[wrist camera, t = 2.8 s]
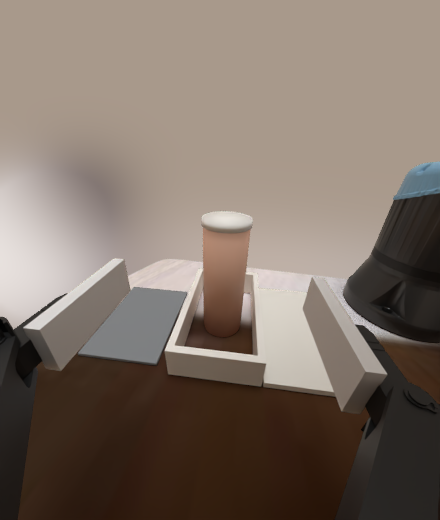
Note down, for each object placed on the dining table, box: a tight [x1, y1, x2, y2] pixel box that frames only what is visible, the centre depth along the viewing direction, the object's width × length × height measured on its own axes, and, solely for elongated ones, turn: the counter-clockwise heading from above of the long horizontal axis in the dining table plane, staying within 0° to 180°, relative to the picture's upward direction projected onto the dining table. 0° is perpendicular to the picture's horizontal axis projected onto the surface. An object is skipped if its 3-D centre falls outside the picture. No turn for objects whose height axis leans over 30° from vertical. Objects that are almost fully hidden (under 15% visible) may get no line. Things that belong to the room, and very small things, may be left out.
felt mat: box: [78, 287, 187, 366], centre depth 30 cm, size 10×14×1 cm
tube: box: [202, 211, 253, 337], centre depth 26 cm, size 6×6×16 cm
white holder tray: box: [165, 268, 336, 397], centre depth 29 cm, size 21×18×4 cm
